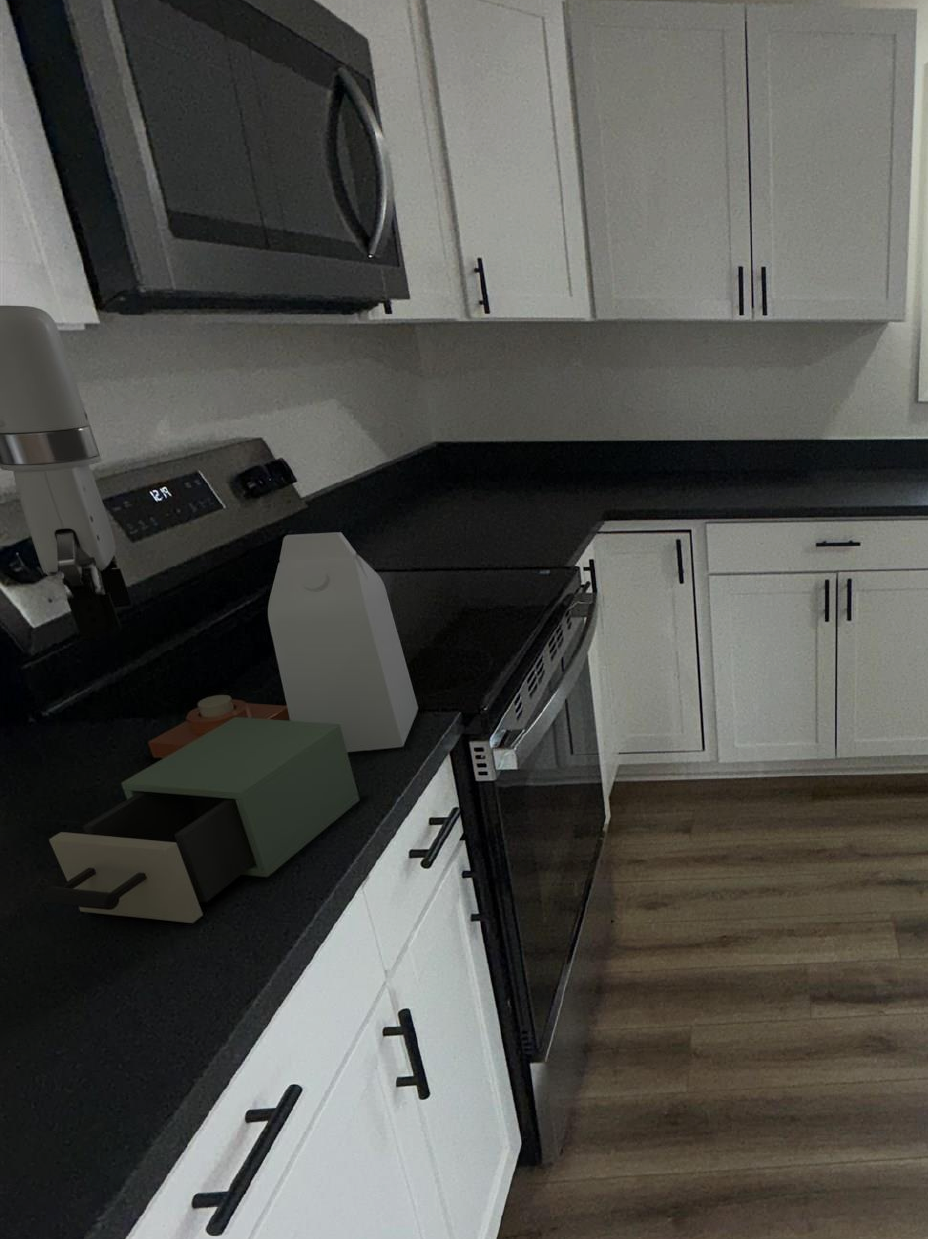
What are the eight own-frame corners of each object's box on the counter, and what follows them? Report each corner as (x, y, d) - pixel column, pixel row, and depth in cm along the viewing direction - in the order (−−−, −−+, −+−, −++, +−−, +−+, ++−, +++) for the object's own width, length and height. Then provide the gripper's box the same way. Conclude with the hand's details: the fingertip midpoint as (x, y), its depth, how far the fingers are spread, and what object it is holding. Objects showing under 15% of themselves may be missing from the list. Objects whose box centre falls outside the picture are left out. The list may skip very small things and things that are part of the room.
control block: (226, 763, 107) (216, 734, 105) (153, 757, 108) (142, 728, 106) (293, 720, 118) (286, 693, 116) (226, 715, 119) (218, 688, 117)
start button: (220, 720, 109) (216, 707, 109) (194, 718, 110) (190, 705, 109) (241, 708, 113) (237, 695, 112) (216, 706, 113) (212, 693, 112)
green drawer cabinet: (267, 877, 86) (239, 792, 82) (152, 866, 87) (120, 782, 83) (359, 800, 99) (340, 723, 95) (258, 792, 101) (235, 716, 97)
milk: (418, 708, 121) (377, 521, 110) (402, 746, 111) (356, 543, 100) (322, 718, 118) (271, 526, 107) (298, 757, 108) (238, 550, 97)
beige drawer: (152, 956, 74) (121, 880, 71) (35, 943, 76) (-1, 868, 73) (296, 839, 90) (276, 772, 87) (197, 830, 92) (174, 764, 88)
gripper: (14, 439, 88) (75, 603, 95) (-28, 466, 74) (47, 654, 82) (107, 434, 91) (159, 592, 99) (83, 458, 78) (145, 639, 85)
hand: (108, 620), depth 90 cm, fingers open, 9 cm apart
